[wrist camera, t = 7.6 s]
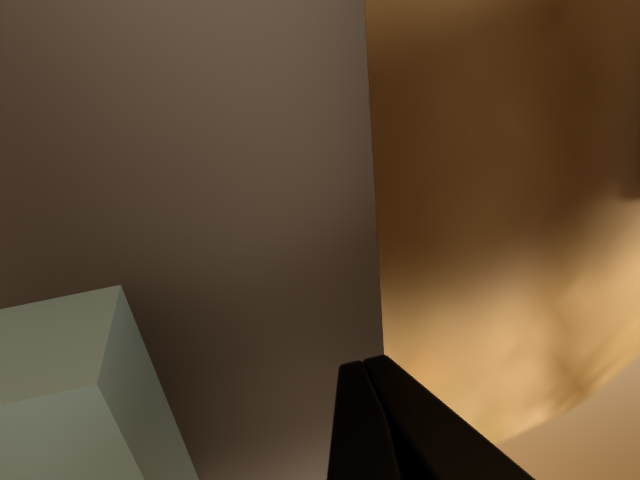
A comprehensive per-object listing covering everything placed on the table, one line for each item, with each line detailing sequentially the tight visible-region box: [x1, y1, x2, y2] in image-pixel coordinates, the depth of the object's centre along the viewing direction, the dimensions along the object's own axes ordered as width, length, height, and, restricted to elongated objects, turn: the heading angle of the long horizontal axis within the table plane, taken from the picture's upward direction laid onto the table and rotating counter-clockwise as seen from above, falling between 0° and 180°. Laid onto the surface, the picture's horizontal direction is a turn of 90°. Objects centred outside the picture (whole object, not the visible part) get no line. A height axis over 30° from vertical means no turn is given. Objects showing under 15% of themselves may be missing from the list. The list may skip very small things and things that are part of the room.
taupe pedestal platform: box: [0, 0, 384, 480], centre depth 8 cm, size 10×18×4 cm, turn 6°
